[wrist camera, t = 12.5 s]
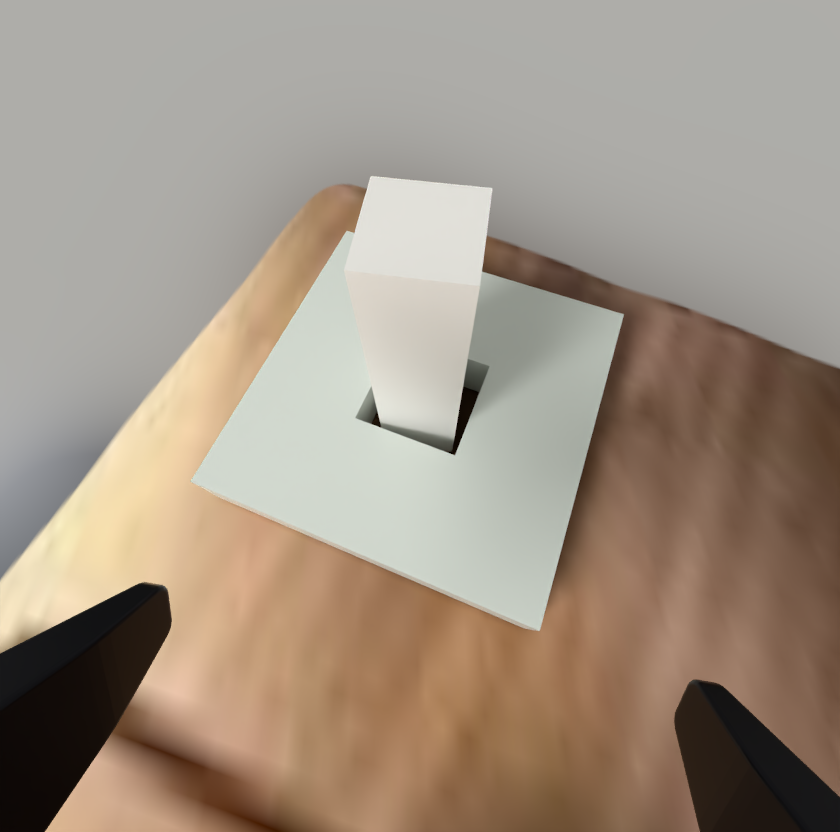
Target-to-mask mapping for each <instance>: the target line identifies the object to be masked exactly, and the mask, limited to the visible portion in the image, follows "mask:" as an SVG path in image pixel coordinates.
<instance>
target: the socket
mask: <svg viewBox="0 0 840 832" xmlns="http://www.w3.org/2000/svg"><path fill="white" fill-rule="evenodd" d="M353 236H354V233H352V232H349V231H346V233H345V235H344V236H343V238H342V239H341V241H340V243H339V244H338V246H337V247H336V249H335V251H334V252H333V254H332V255H331V257H330V259H329V260H328V262H327V263H326V265H325V267H324V268H323V270H322V272H321V273H320V275H319V276H318V278H317V280H316V281H315V283H314V284H313V286H312V288H311V289H310V291H309V292H308V294H307V296H306V297H305V299H304V300H303V302H302V304H301V305H300V307H299V308H298V310H297V312H296V313H295V315H294V316H293V318H292V320H291V321H290V323H289V324H288V326H287V328H286V329H285V331H284V332H283V334H282V336H281V337H280V339H279V340H278V342H277V344H276V345H275V347H274V348H273V350H272V352H271V353H270V355H269V356H268V358H267V360H266V361H265V363H264V364H263V366H262V368H261V369H260V371H259V372H258V374H257V376H256V377H255V379H254V380H253V382H252V384H251V385H250V387H249V388H248V390H247V392H246V393H245V395H244V396H243V398H242V400H241V401H240V403H239V404H238V406H237V408H236V409H235V411H234V412H233V414H232V416H231V417H230V419H229V420H228V422H227V424H226V425H225V427H224V428H223V430H222V432H221V433H220V435H219V436H218V438H217V440H216V441H215V443H214V444H213V446H212V448H211V449H210V451H209V453H208V454H207V456H206V457H205V459H204V461H203V462H202V464H201V465H200V467H199V469H198V470H197V472H196V473H195V475H194V477H193V478H192V480H191V481H190V482H192V483H194V484H196V485H198V486H199V487H201V488H203V489H205V490H207V491H208V492H210V493H212V494H214V495H216V496H217V497H219V498H222V499H224V500H226V501H229V502H231V503H233V504H236V505H238V506H240V507H243V508H245V509H247V510H250V511H252V512H254V513H257V514H259V515H261V516H264V517H266V518H268V519H271V520H273V521H275V522H278V523H280V524H282V525H285V526H287V527H289V528H292V529H294V530H296V531H299V532H301V533H303V534H305V535H308V536H310V537H312V538H315V539H317V540H319V541H322V542H324V543H326V544H329V545H331V546H333V547H336V548H338V549H340V550H343V551H345V552H347V553H350V554H352V555H354V556H357V557H359V558H361V559H364V560H366V561H368V562H371V563H373V564H375V565H378V566H380V567H382V568H385V569H387V570H389V571H392V572H394V573H396V574H399V575H401V576H403V577H406V578H408V579H410V580H413V581H415V582H417V583H420V584H422V585H424V586H427V587H429V588H431V589H434V590H436V591H438V592H441V593H443V594H445V595H448V596H450V597H452V598H454V599H457V600H459V601H461V602H464V603H466V604H468V605H471V606H473V607H475V608H478V609H480V610H482V611H485V612H487V613H489V614H492V615H494V616H496V617H499V618H501V619H503V620H506V621H508V622H510V623H513V624H515V625H517V626H520V627H522V628H525V629H531V630H537V631H540V628H541V624H542V620H543V617H544V613H545V609H546V605H547V602H548V598H549V594H550V590H551V587H552V583H553V579H554V575H555V572H556V568H557V564H558V560H559V557H560V553H561V549H562V545H563V542H564V538H565V534H566V530H567V527H568V523H569V519H570V515H571V511H572V508H573V504H574V500H575V496H576V493H577V489H578V485H579V481H580V478H581V474H582V470H583V466H584V463H585V459H586V455H587V451H588V448H589V444H590V440H591V436H592V433H593V429H594V425H595V421H596V417H597V414H598V410H599V406H600V402H601V399H602V395H603V391H604V387H605V384H606V380H607V376H608V372H609V369H610V365H611V361H612V357H613V354H614V350H615V346H616V342H617V339H618V335H619V331H620V327H621V324H622V320H623V316H624V314H621V313H618V312H614V311H611V310H608V309H604V308H601V307H598V306H594V305H591V304H588V303H584V302H581V301H578V300H574V299H571V298H568V297H564V296H561V295H558V294H555V293H551V292H548V291H545V290H541V289H538V288H535V287H531V286H528V285H525V284H521V283H518V282H515V281H511V280H508V279H505V278H501V277H498V276H495V275H491V274H488V273H485V272H482V274H481V282H480V289H479V295H478V301H477V307H476V313H475V319H474V325H473V331H472V336H471V342H470V348H469V354H468V360H467V366H466V372H465V378H464V384H463V387H466V388H469V389H472V390H474V391H477V392H480V393H479V395H478V398H477V400H476V403H475V406H474V408H473V411H472V413H471V416H470V418H469V421H468V424H467V426H466V429H465V431H464V434H463V436H462V439H461V441H460V444H459V447H458V449H457V452H456V454H455V455H453V454H450V453H447V452H445V451H442V450H439V449H437V448H434V447H431V446H429V445H426V444H423V443H421V442H418V441H415V440H413V439H410V438H407V437H405V436H402V435H399V434H397V433H394V432H391V431H389V430H386V429H383V428H381V427H378V426H375V425H373V424H372V421H373V419H374V417H375V415H376V413H377V407H376V403H375V399H374V395H373V390H372V386H371V382H370V378H369V374H368V370H367V365H366V361H365V357H364V353H363V349H362V344H361V340H360V336H359V332H358V328H357V323H356V319H355V315H354V311H353V307H352V303H351V298H350V294H349V290H348V286H347V282H346V277H345V273H344V268H345V264H346V261H347V257H348V254H349V250H350V247H351V243H352V240H353Z"/></svg>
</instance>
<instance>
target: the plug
mask: <svg viewBox="0 0 840 832" xmlns="http://www.w3.org/2000/svg"><path fill="white" fill-rule="evenodd" d="M491 195H492V188H486V187H476V186H465V185H456V184H446V183H435V182H425V181H415V180H405V179H395V178H385V177H375V176H371V177H370V181H369V184H368V188H367V191H366V194H365V198H364V201H363V205H362V208H361V212H360V215H359V219H358V222H357V226H356V229H355V233H354V236H353V240H352V243H351V247H350V250H349V254H348V257H347V261H346V264H345V268H344V273H345V277H346V282H347V286H348V290H349V294H350V298H351V303H352V307H353V311H354V315H355V319H356V323H357V328H358V332H359V336H360V340H361V344H362V349H363V353H364V357H365V361H366V365H367V370H368V374H369V378H370V382H371V386H372V390H373V395H374V399H375V403H376V407H377V411H378V416H379V420H380V424H381V428H383V429H386V430H389V431H391V432H394V433H397V434H399V435H402V436H405V437H407V438H410V439H413V440H415V441H418V442H421V443H423V444H426V445H429V446H431V447H434V448H437V449H439V450H443V451H450V452H452V449H453V444H454V438H455V432H456V426H457V420H458V414H459V408H460V402H461V396H462V390H463V384H464V378H465V372H466V366H467V360H468V354H469V348H470V342H471V336H472V331H473V325H474V319H475V313H476V307H477V301H478V295H479V289H480V282H481V274H482V266H483V258H484V250H485V243H486V234H487V227H488V219H489V211H490V203H491Z"/></svg>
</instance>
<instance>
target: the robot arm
mask: <svg viewBox="0 0 840 832" xmlns="http://www.w3.org/2000/svg"><path fill="white" fill-rule="evenodd" d="M171 622H172V617H171V610H170V603H169V595H168V590H167V589H166V587H165V586H163V585H159V584H153V583H147V582H144V583H139V584H137V585H135V586H133V587H131V588H129V589H127V590H125V591H123V592H121V593H119V594H117V595H115V596H113V597H111V598H109V599H107V600H105V601H103V602H101V603H99V604H97V605H95V606H93V607H91V608H89V609H87V610H85V611H83V612H81V613H79V614H77V615H76V616H74V617H72V618H70V619H68V620H66V621H64V622H62V623H60V624H58V625H56V626H54V627H52V628H50V629H48V630H46V631H44V632H42V633H40V634H38V635H36V636H34V637H32V638H30V639H28V640H26V641H24V642H22V643H20V644H18V645H16V646H14V647H12V648H10V649H8V650H6V651H4V652H2V653H0V832H45V831H46V829H47V828H48V826H49V825H50V823H51V822H52V820H53V819H54V817H55V816H56V814H57V813H58V812H59V810H60V809H61V807H62V806H63V804H64V803H65V801H66V800H67V798H68V797H69V795H70V794H71V792H72V791H73V789H74V788H75V786H76V785H77V784H78V782H79V781H80V779H81V778H82V776H83V775H84V773H85V772H86V770H87V769H88V767H89V766H90V764H91V763H92V761H93V760H94V758H95V757H96V756H97V754H98V753H99V751H100V750H101V748H102V747H103V745H104V744H105V742H106V741H107V739H108V738H109V736H110V735H111V733H112V732H113V730H114V728H115V727H116V725H117V724H118V722H119V720H120V719H121V717H122V715H123V714H124V712H125V710H126V709H127V707H128V705H129V703H130V701H131V700H132V698H133V696H134V694H135V692H136V691H137V689H138V687H139V685H140V684H141V682H142V680H143V678H144V676H145V675H146V673H147V671H148V669H149V668H150V666H151V664H152V662H153V660H154V659H155V657H156V655H157V653H158V651H159V650H160V648H161V646H162V644H163V643H164V641H165V639H166V637H167V635H168V633H169V631H170V628H171ZM674 723H675V730H676V734H677V738H678V742H679V747H680V751H681V755H682V759H683V763H684V767H685V772H686V776H687V780H688V784H689V788H690V792H691V797H692V801H693V805H694V809H695V813H696V817H697V821H698V825H699V829H700V832H840V797H839V796H838V795H837V794H836V793H835V792H834V791H833V790H832V789H831V788H830V787H829V786H827V785H826V784H825V783H824V782H823V781H822V780H821V779H820V778H819V777H818V776H817V775H816V774H815V773H814V772H813V771H812V770H811V769H810V768H809V767H807V766H806V765H805V764H804V763H803V762H802V761H801V760H800V759H799V758H798V757H797V756H796V755H795V754H794V753H793V752H792V751H791V750H790V749H789V748H787V747H786V746H785V745H784V744H783V743H782V742H781V741H780V740H779V739H778V738H777V737H776V736H775V735H774V734H773V733H772V732H771V731H770V730H769V729H768V728H766V727H765V726H764V725H763V724H762V723H761V722H760V721H759V720H758V719H757V718H756V717H755V716H754V715H753V714H752V713H751V712H750V711H749V710H748V709H746V708H745V707H744V706H743V705H742V704H741V703H740V702H739V701H738V700H737V699H736V698H735V697H734V696H733V695H732V694H731V693H730V692H729V691H728V690H726V689H725V688H724V687H723V686H721V685H720V684H717V683H714V682H708V681H702V680H692V681H691V682H689V684H688V686H687V688H686V690H685V692H684V694H683V696H682V699H681V701H680V703H679V705H678V707H677V709H676V712H675V718H674Z"/></svg>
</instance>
